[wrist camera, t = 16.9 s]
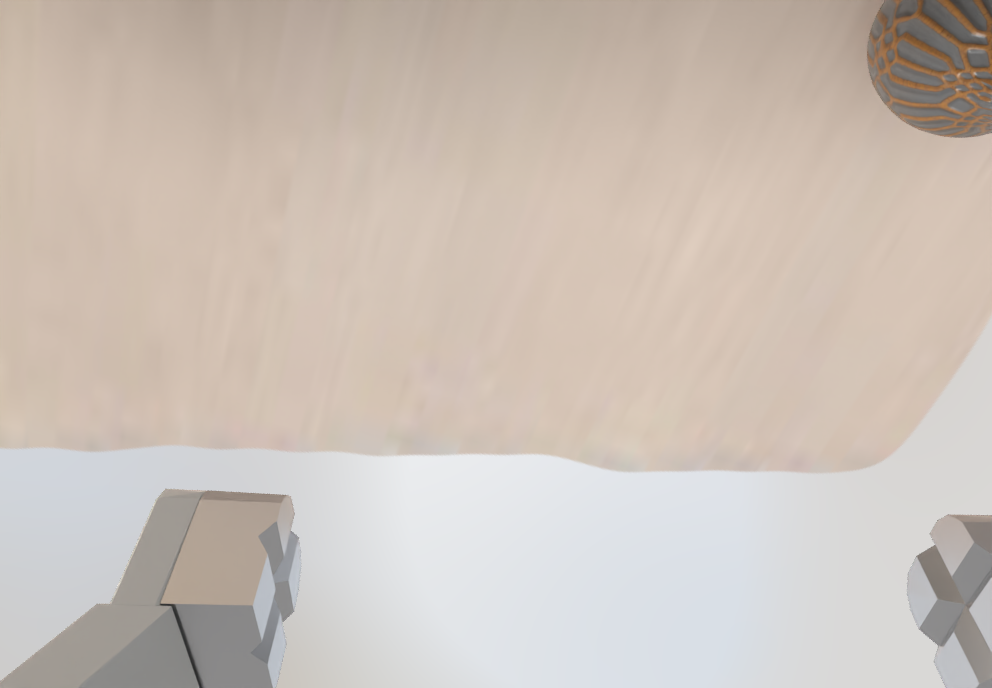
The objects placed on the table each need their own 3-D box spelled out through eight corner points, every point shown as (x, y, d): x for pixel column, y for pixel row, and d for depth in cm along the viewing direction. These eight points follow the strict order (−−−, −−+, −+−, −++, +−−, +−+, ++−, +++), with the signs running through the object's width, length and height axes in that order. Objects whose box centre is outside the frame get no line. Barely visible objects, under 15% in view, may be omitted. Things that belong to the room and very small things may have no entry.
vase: (931, -95, 34) (1042, -45, 27) (1042, -9, 36) (1173, 58, 29) (814, 51, 37) (886, 128, 30) (922, 121, 39) (1012, 208, 32)
